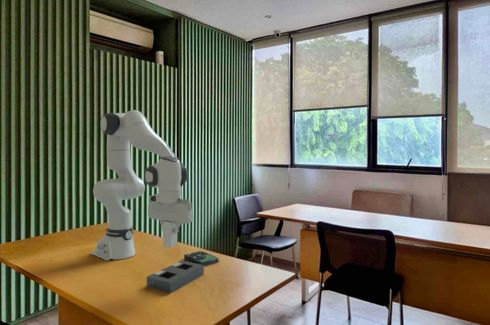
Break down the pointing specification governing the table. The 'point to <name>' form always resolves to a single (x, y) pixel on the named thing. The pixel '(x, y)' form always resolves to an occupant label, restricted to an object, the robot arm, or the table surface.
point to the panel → (175, 276)
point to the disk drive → (201, 258)
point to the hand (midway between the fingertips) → (170, 231)
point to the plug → (169, 234)
